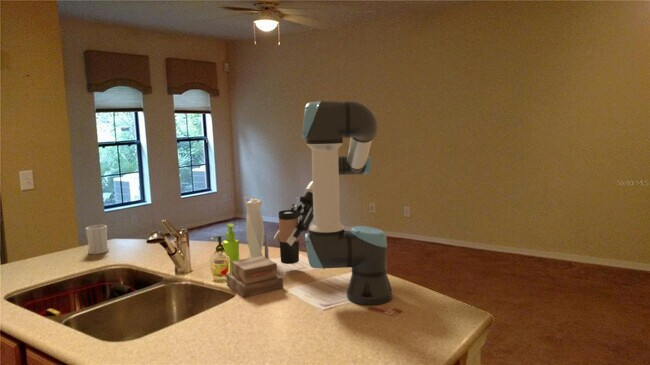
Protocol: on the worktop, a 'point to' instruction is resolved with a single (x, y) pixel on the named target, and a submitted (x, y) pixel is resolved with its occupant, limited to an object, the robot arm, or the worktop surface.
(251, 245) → the white twisted vase
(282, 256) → the travel mug
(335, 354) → the worktop surface
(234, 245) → the soap dispenser
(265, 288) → the stack of brown boxes
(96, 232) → the cup
